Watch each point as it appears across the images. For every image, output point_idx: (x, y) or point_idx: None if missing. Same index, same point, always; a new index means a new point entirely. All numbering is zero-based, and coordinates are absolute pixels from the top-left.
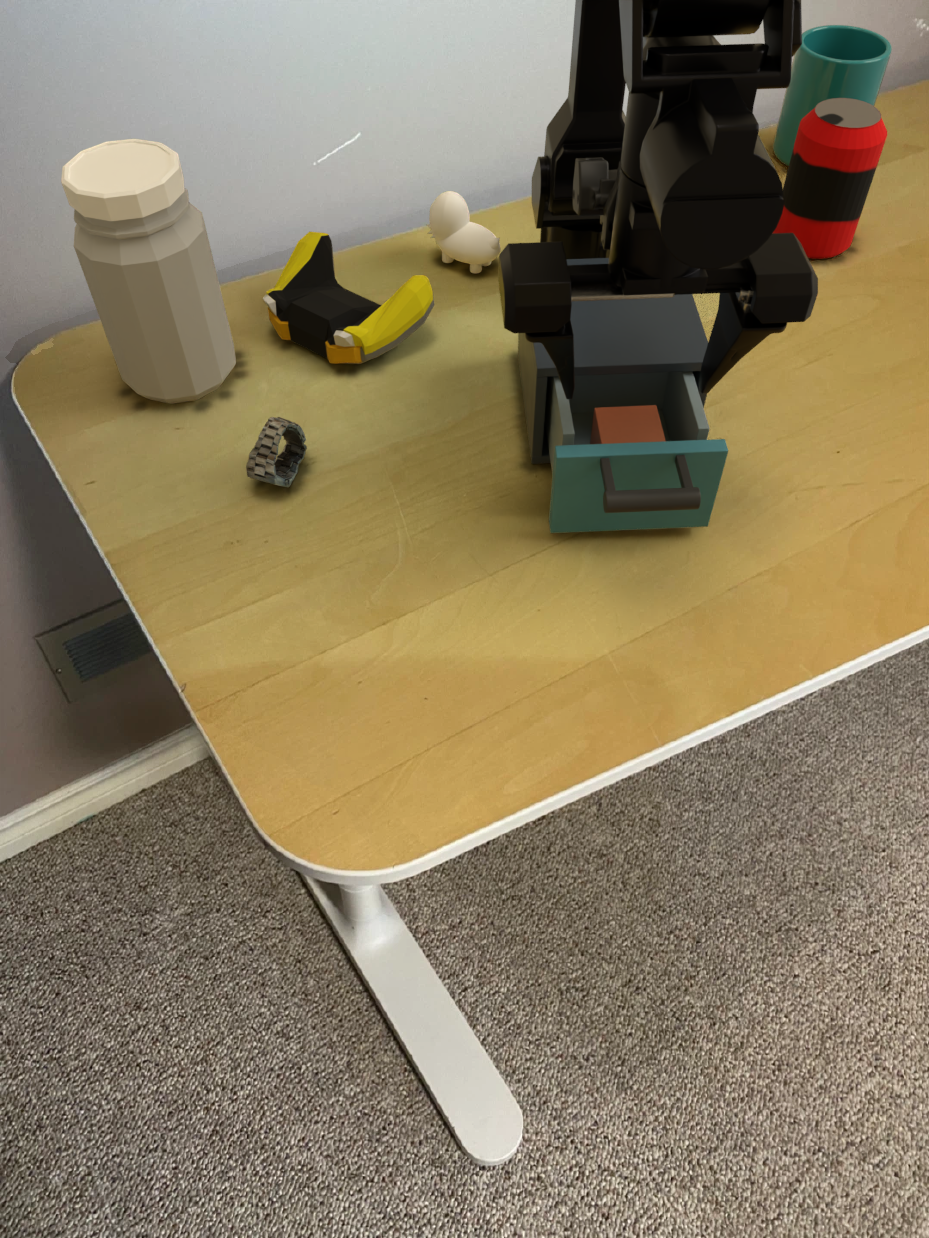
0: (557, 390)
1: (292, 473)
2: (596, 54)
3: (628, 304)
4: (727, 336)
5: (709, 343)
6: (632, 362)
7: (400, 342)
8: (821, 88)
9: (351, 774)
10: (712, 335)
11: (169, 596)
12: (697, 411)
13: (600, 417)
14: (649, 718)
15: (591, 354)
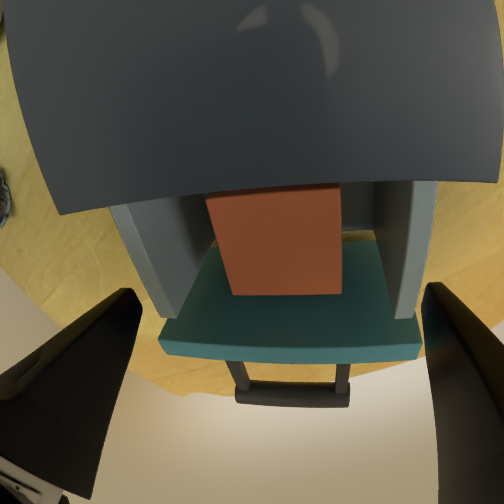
0: (117, 222)
1: (6, 193)
2: None
3: None
4: (451, 491)
5: (469, 376)
6: (261, 179)
7: (2, 12)
8: None
9: (149, 375)
10: (480, 397)
11: (24, 284)
12: (408, 282)
13: (220, 226)
14: (300, 377)
15: (139, 154)
